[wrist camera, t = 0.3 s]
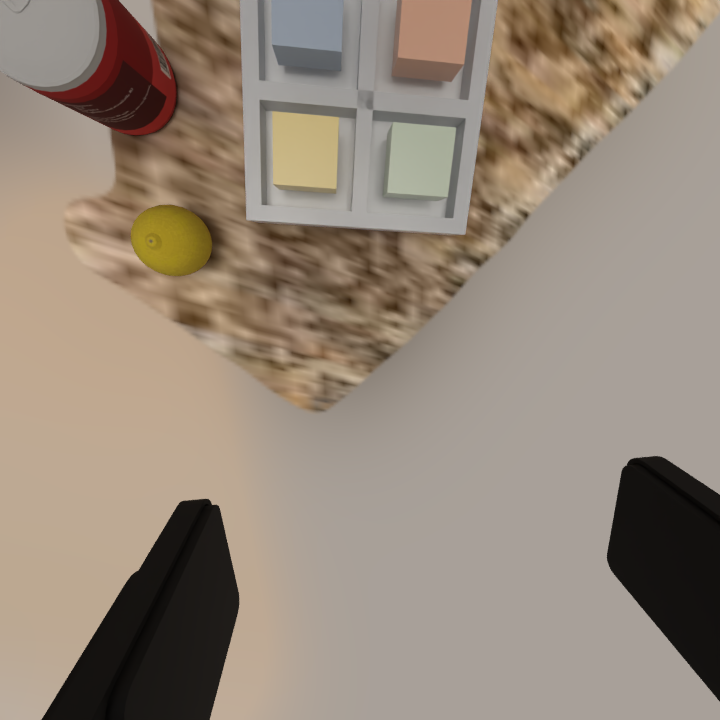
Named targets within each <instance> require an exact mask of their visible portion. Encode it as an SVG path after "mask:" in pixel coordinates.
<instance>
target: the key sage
mask: <svg viewBox="0 0 720 720" xmlns="http://www.w3.org/2000/svg"><path fill="white" fill-rule="evenodd" d="M455 134H456V128H455V127H444V126H433V125H422V124H410V123H399V122H393V123H392V125H391V127H390V129H389V131H388V133H387V145H386V158H385V172H384V186H383V197H388V198H401V199H415V200H429V201H439V200H442V199H444V198H447V197H448V191H449V183H450V175H451V167H452V159H453V151H454V142H455Z"/></svg>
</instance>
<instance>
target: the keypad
mask: <svg viewBox="0 0 720 720" xmlns="http://www.w3.org/2000/svg"><path fill="white" fill-rule="evenodd" d="M497 3H498V0H472V4H471V12H470V20H469V28H468V36H467V45H466V53H465V61H464V65H463V66H462V68H461V69H460V71H459V72H458V73H457V75H456V76H455V78H454V79H453V80H452V82H446V81H435V80H425V79H415V78H405V77H395V76H392V63H393V49H394V35H395V22H396V8H397V0H344V7H343V33H342V59H341V71H334V70H324V69H313V68H303V67H293V66H283V65H278V62H277V59H276V56H275V53H274V50H273V47H272V19H271V0H240V22H241V55H242V88H243V121H244V155H245V188H246V220H249V221H253V222H258V223H272V224H287V225H302V226H317V227H332V228H347V229H362V230H377V231H392V232H407V233H422V234H437V235H465V233H466V225H467V218H468V211H469V204H470V197H471V190H472V182H473V175H474V168H475V161H476V154H477V147H478V139H479V132H480V125H481V118H482V111H483V104H484V97H485V89H486V82H487V75H488V68H489V61H490V54H491V46H492V39H493V32H494V25H495V18H496V11H497ZM272 111H276V112H287V113H298V114H309V115H321V116H332V117H339V138H338V164H337V190H336V194H333V193H320V192H306V191H293V190H279V189H278V188H277V187H276V186H275V185H273V125H272ZM393 122H399V123H410V124H422V125H433V126H444V127H455V128H456V134H455V142H454V151H453V159H452V167H451V175H450V183H449V191H448V197H447V198H444V199H442V200H439V201H429V200H415V199H401V198H388V197H383V186H384V172H385V158H386V145H387V133H388V131H389V129H390V127H391V125H392V123H393Z"/></svg>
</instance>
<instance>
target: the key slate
mask: <svg viewBox="0 0 720 720" xmlns="http://www.w3.org/2000/svg"><path fill="white" fill-rule="evenodd" d="M343 7H344V0H271V19H272V47H273V50H274V53H275V56H276V59H277V62H278V65H283V66H293V67H303V68H313V69H324V70H334V71H341V59H342V33H343Z"/></svg>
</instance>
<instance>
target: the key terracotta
mask: <svg viewBox="0 0 720 720" xmlns="http://www.w3.org/2000/svg"><path fill="white" fill-rule="evenodd" d="M471 4H472V0H397V8H396V22H395V35H394V49H393V63H392V76H395V77H405V78H415V79H425V80H435V81H446V82H452V80H453V79H454V78H455V76H456V75H457V73H458V72H459V71H460V69H461V68H462V66H463V65H464V61H465V53H466V45H467V36H468V28H469V20H470V12H471Z"/></svg>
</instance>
